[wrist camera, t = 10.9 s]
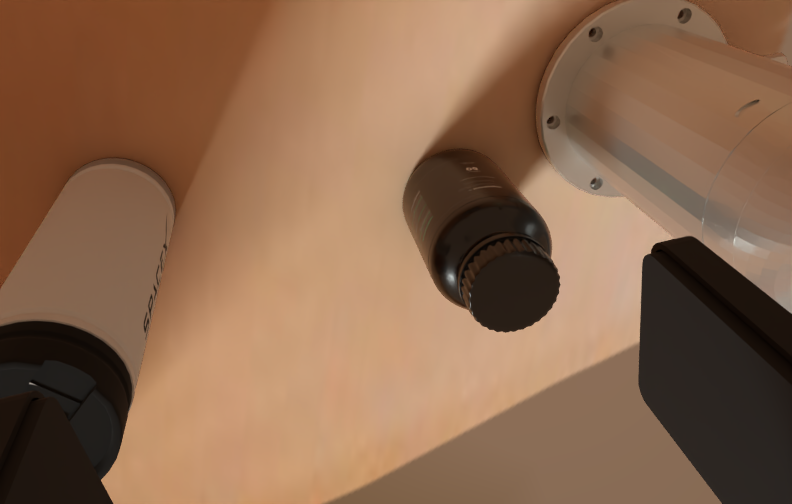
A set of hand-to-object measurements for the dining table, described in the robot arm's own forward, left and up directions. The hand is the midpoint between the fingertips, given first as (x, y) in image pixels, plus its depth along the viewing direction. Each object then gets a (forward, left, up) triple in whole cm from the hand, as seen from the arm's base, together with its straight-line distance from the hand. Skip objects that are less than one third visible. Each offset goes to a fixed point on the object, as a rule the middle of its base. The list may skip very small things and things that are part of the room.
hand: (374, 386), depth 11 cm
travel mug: (+12, +8, -31) cm, 34 cm away
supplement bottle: (-8, +12, -31) cm, 34 cm away
